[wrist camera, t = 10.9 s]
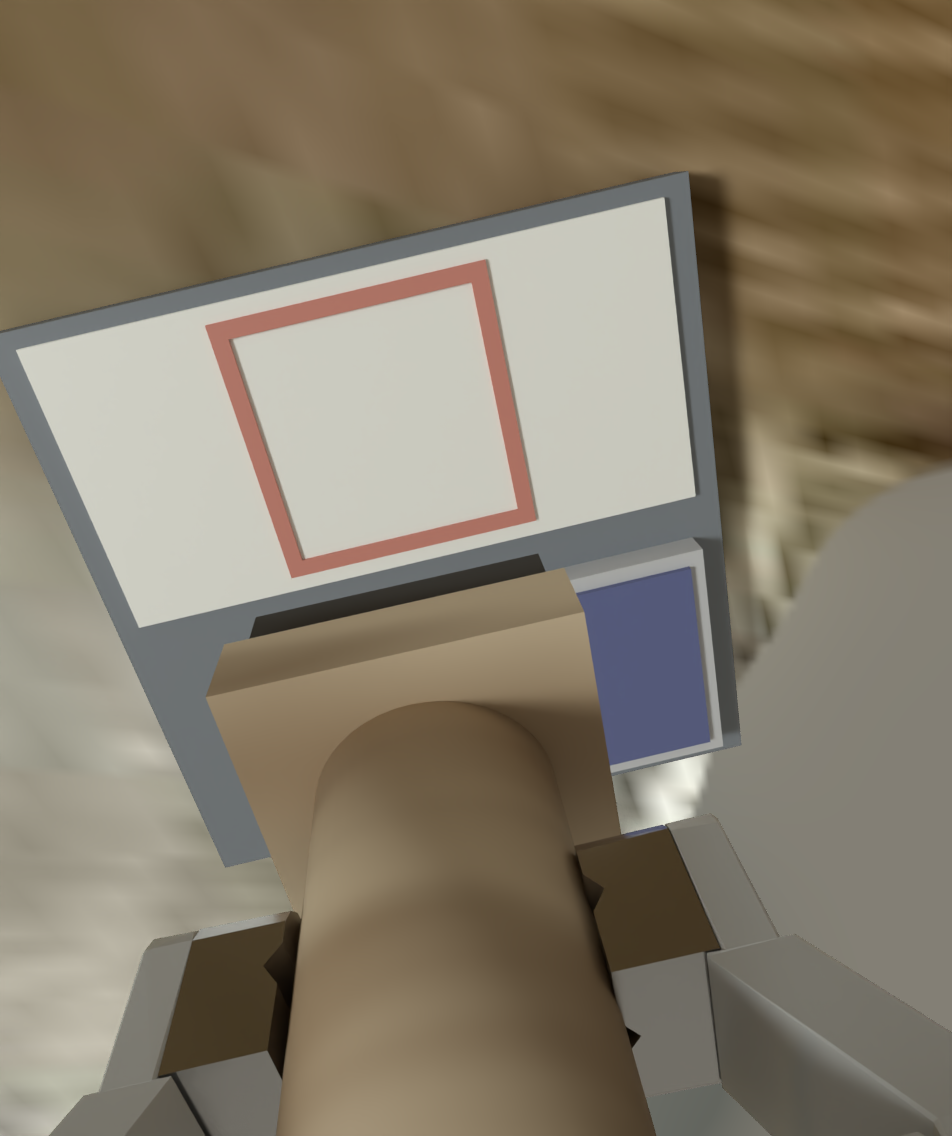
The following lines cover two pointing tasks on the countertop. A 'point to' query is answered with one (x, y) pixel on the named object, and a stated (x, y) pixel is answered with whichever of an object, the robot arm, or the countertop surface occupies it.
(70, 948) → the countertop surface
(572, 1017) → the stamp
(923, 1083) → the robot arm
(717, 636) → the stamping board
